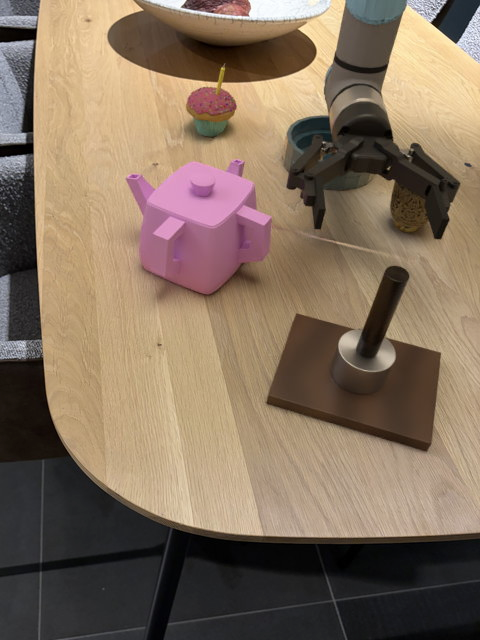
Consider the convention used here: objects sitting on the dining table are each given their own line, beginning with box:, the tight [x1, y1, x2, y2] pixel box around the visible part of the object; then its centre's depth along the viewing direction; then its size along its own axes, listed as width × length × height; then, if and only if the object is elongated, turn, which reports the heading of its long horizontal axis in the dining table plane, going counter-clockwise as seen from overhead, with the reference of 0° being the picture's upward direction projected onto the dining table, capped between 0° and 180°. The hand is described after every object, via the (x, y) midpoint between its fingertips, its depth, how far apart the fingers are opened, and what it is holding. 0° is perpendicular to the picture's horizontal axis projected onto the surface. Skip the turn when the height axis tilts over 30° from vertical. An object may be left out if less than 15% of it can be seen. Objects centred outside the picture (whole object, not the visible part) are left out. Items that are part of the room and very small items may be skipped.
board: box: [266, 312, 442, 452], centre depth 70 cm, size 18×14×2 cm
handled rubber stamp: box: [330, 265, 411, 394], centre depth 64 cm, size 6×6×15 cm
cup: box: [389, 180, 429, 234], centre depth 88 cm, size 8×7×8 cm
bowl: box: [282, 114, 376, 191], centre depth 99 cm, size 15×15×5 cm
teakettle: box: [125, 158, 273, 296], centre depth 79 cm, size 17×17×12 cm
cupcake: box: [185, 63, 238, 138], centre depth 102 cm, size 9×8×12 cm
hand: (381, 224), depth 67 cm, fingers open, 13 cm apart
